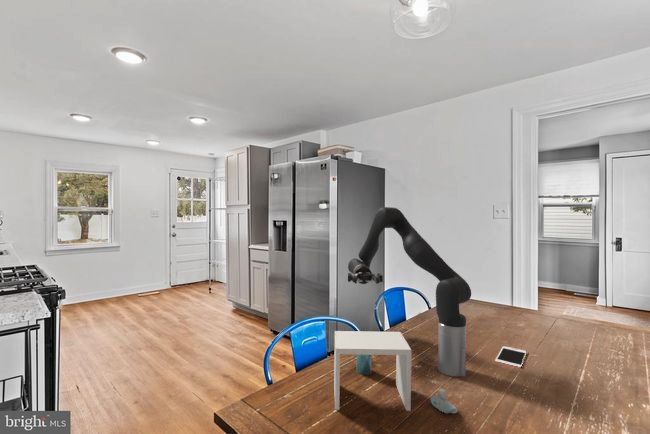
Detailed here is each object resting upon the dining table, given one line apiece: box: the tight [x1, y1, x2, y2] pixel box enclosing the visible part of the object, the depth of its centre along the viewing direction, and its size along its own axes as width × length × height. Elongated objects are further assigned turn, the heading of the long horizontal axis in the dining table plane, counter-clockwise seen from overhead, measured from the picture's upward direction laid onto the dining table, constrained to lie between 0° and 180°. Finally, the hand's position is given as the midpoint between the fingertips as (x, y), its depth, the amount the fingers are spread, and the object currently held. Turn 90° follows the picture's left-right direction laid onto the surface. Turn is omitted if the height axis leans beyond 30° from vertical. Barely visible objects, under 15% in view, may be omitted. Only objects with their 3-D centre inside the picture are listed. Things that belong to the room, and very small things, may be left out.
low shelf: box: [333, 330, 412, 412], centre depth 99 cm, size 14×22×18 cm, turn 90°
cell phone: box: [494, 346, 527, 367], centre depth 128 cm, size 9×18×1 cm, turn 142°
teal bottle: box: [355, 354, 372, 376], centre depth 115 cm, size 5×5×12 cm
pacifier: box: [430, 388, 458, 414], centre depth 93 cm, size 7×6×6 cm
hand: (366, 281), depth 127 cm, fingers open, 8 cm apart
